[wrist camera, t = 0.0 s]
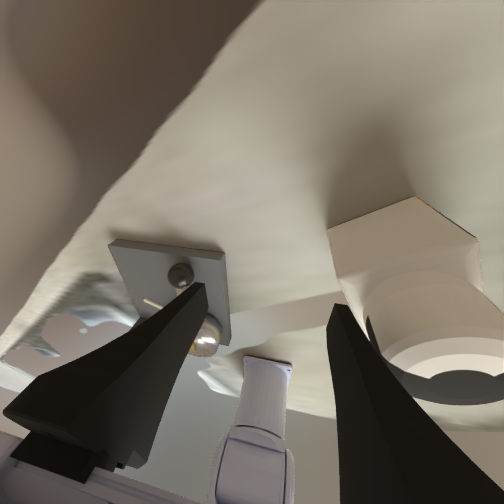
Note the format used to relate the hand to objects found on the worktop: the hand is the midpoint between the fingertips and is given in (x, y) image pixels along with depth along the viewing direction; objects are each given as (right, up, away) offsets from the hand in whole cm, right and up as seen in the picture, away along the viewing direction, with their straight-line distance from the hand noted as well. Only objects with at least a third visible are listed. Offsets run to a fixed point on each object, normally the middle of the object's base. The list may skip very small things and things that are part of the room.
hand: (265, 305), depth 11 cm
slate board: (-11, -3, +17) cm, 20 cm away
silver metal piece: (-8, -4, +15) cm, 18 cm away
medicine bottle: (+11, +4, +7) cm, 14 cm away
